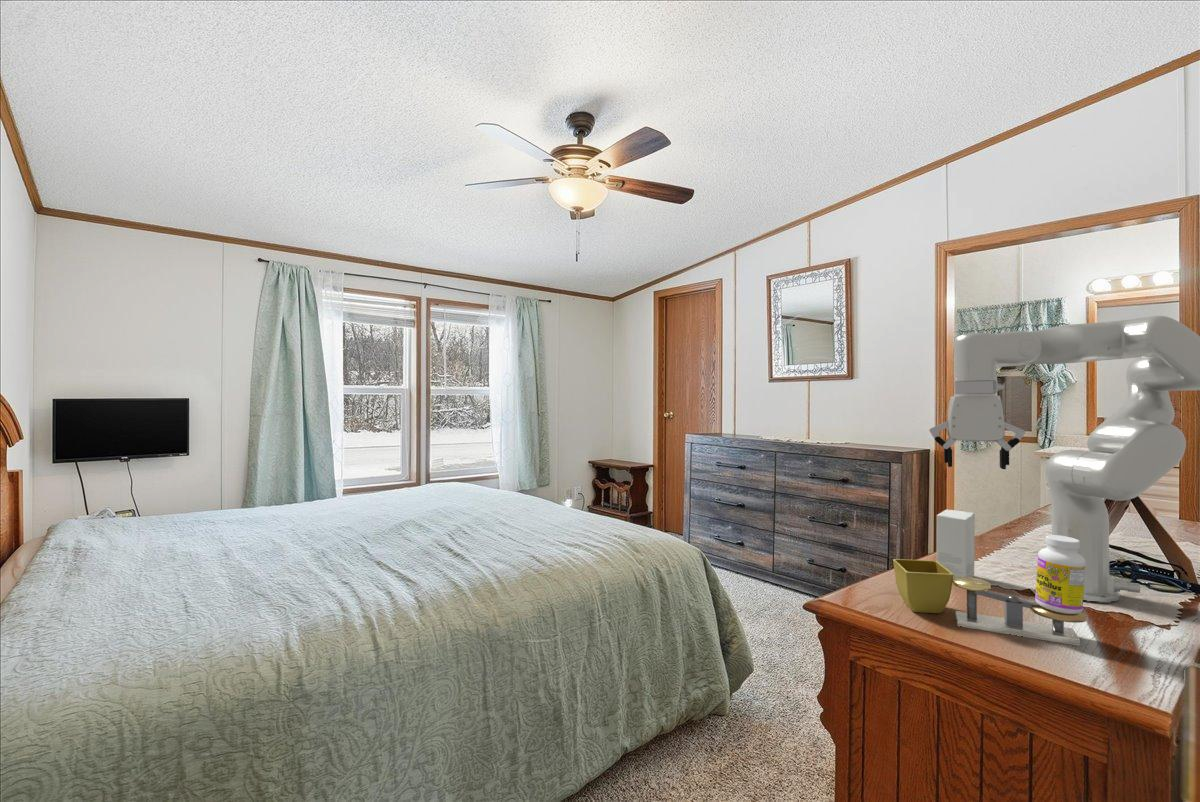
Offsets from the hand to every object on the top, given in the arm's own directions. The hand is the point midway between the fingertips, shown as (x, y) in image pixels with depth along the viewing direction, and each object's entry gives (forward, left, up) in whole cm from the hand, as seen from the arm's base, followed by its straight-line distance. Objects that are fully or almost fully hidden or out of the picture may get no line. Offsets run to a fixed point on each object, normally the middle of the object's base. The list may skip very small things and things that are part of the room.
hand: (975, 467), depth 119 cm
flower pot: (+11, +14, -28) cm, 33 cm away
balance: (-4, +18, -28) cm, 34 cm away
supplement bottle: (-11, +18, -23) cm, 31 cm away
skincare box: (+3, -12, -28) cm, 31 cm away
